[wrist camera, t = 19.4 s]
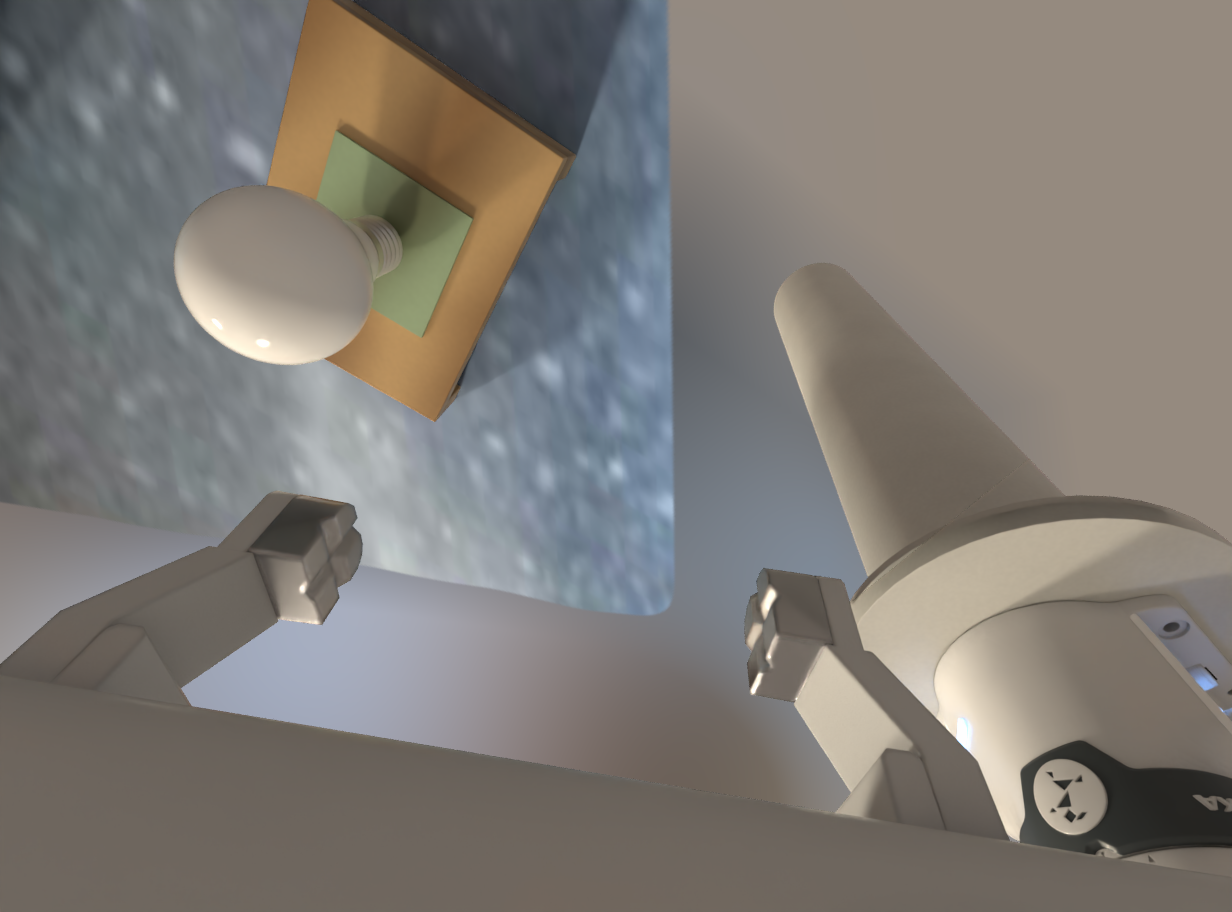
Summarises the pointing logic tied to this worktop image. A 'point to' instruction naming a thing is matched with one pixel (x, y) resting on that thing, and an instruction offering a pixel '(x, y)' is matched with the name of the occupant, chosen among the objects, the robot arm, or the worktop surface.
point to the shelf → (413, 191)
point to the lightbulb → (281, 272)
